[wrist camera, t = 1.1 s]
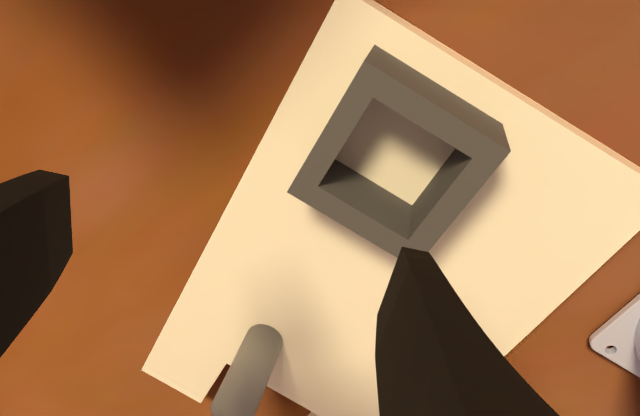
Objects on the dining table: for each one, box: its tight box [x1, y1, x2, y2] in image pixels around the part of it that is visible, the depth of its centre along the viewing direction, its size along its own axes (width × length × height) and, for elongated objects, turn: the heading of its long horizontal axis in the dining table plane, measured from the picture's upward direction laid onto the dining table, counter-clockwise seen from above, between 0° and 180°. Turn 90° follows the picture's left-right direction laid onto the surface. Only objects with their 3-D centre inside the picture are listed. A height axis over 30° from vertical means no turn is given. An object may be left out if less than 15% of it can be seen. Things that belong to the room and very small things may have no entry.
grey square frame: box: [287, 44, 511, 258], centre depth 20 cm, size 6×6×3 cm
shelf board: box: [142, 0, 640, 416], centre depth 24 cm, size 15×24×6 cm, turn 151°
